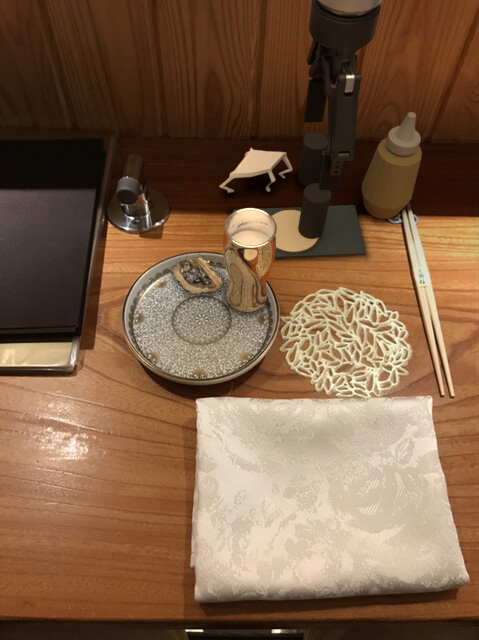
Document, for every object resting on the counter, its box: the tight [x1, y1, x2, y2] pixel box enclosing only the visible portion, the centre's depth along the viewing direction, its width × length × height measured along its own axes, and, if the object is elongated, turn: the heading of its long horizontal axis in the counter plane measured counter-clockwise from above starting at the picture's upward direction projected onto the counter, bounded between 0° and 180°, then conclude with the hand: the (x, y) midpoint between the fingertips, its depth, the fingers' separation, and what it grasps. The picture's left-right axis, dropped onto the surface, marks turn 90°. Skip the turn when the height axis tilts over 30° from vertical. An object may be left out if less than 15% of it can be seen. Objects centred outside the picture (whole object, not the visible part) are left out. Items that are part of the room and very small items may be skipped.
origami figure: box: [219, 147, 293, 194], centre depth 93 cm, size 12×8×5 cm
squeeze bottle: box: [360, 111, 423, 220], centre depth 85 cm, size 8×8×18 cm
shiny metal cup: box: [222, 207, 277, 313], centre depth 76 cm, size 7×7×15 cm
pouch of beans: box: [170, 257, 223, 295], centre depth 84 cm, size 7×8×2 cm
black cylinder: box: [298, 183, 332, 239], centre depth 85 cm, size 4×4×8 cm
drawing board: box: [232, 204, 367, 260], centre depth 89 cm, size 20×10×1 cm, turn 94°
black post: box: [297, 132, 328, 187], centre depth 92 cm, size 4×4×8 cm
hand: (320, 152), depth 79 cm, fingers open, 13 cm apart
